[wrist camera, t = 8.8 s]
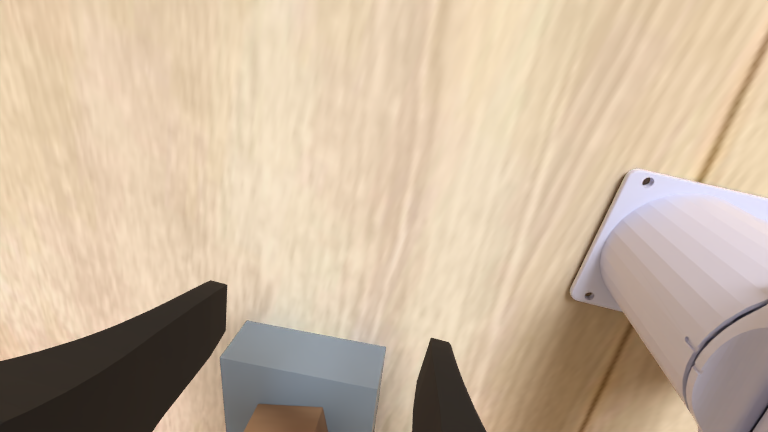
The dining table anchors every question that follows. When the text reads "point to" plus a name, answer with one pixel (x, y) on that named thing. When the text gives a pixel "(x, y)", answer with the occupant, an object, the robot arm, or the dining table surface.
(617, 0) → the dining table surface
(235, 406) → the base block
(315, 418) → the walnut block
